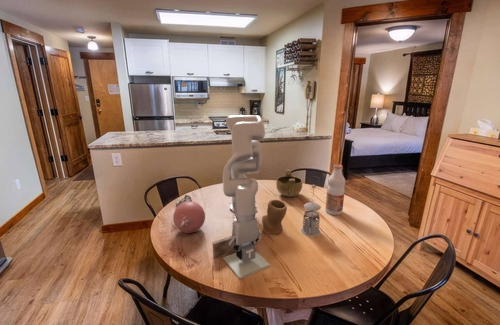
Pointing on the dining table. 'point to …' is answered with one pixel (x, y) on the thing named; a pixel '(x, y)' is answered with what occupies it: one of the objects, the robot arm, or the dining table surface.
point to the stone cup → (274, 217)
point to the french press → (311, 219)
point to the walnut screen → (222, 247)
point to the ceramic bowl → (289, 185)
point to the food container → (184, 200)
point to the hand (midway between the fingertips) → (246, 254)
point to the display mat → (246, 265)
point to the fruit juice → (335, 191)
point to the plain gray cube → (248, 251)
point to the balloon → (189, 217)
